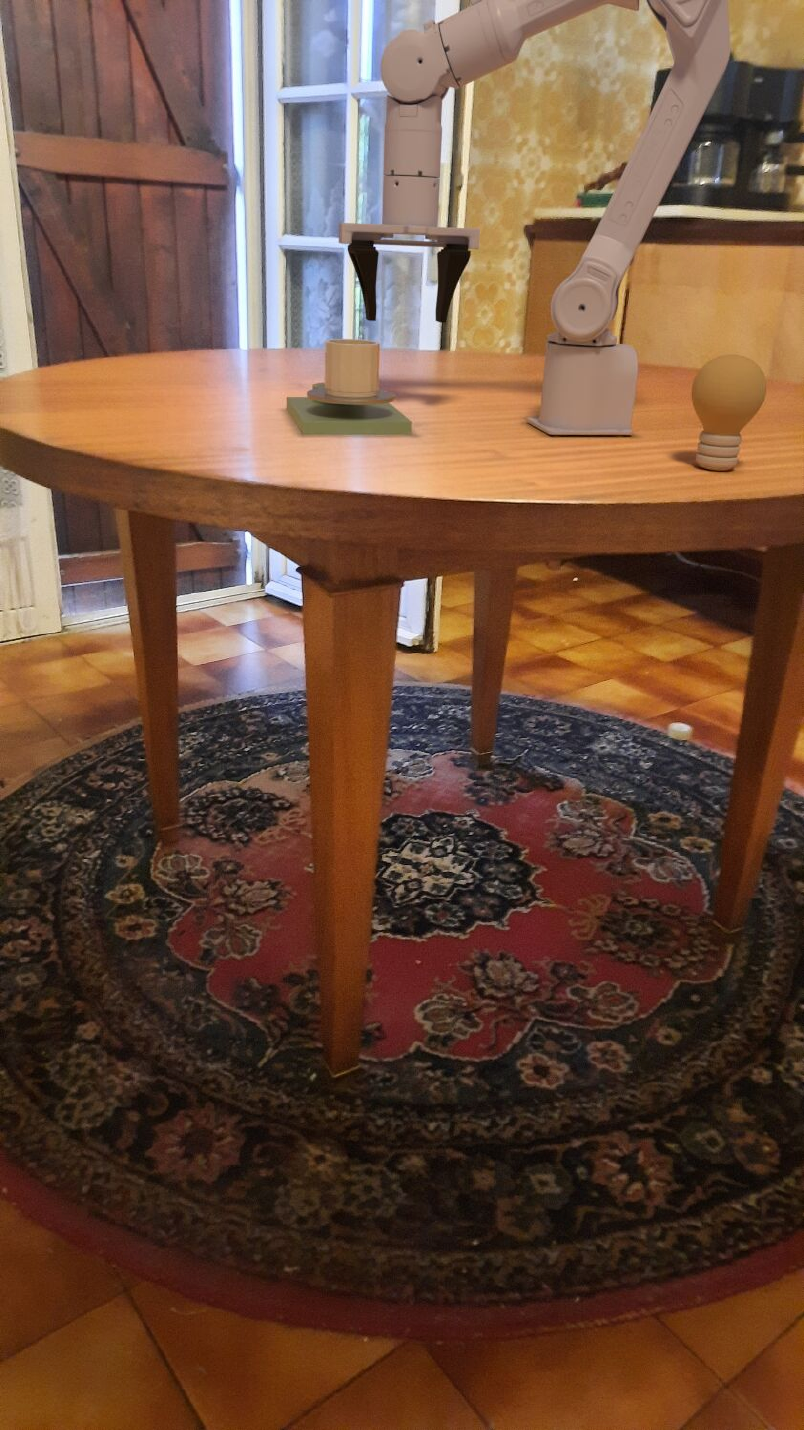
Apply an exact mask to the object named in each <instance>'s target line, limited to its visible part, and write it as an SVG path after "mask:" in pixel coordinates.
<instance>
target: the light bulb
mask: <svg viewBox="0 0 804 1430" xmlns="http://www.w3.org/2000/svg"><path fill="white" fill-rule="evenodd" d="M766 395H767V380H766V376H765V373H764V371H763V369H762V368H761V366H760V365H759V364H758V363H757V362H755V360H753V359H751V358H749V357H747V356H744V355H740V354H723V355H719V356H717V357H715V358H712V359H710V360H708V361H707V362H706V363H705V364H703V366H702V367H701V368H700V369H699V371H698V372H697V374H696V376H695V377H694V380H693V381H692V387H691V402H692V406H693V409H694V411H695V414H696V416H697V417H698V419H699V421H700V423H701V425H702V429H703V430H702V431H700V433H699V436H698V439H699V442H698V444H697V453H696V454H695V462H696V463H697V464H698V466H699V467H701V468H703V469H706V470H710V471H723V472H724V471H730V470H732V469H733V468H735V467H736V466H737V465H738V461H739V457H738V455H739V454H740V451H741V447H740V445H741V443H742V441H743V439H742V438H743V436H742V435H741V434H740V433H741V431H742V430H743V428H745V427H746V426H747V424H748V423H750V422H751V420H752V419H753V418H754V417H755V416H756V415H757V414H758V412H759V411H760V409H761V407H762V406H763V404H764V401H765V398H766Z"/></svg>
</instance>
